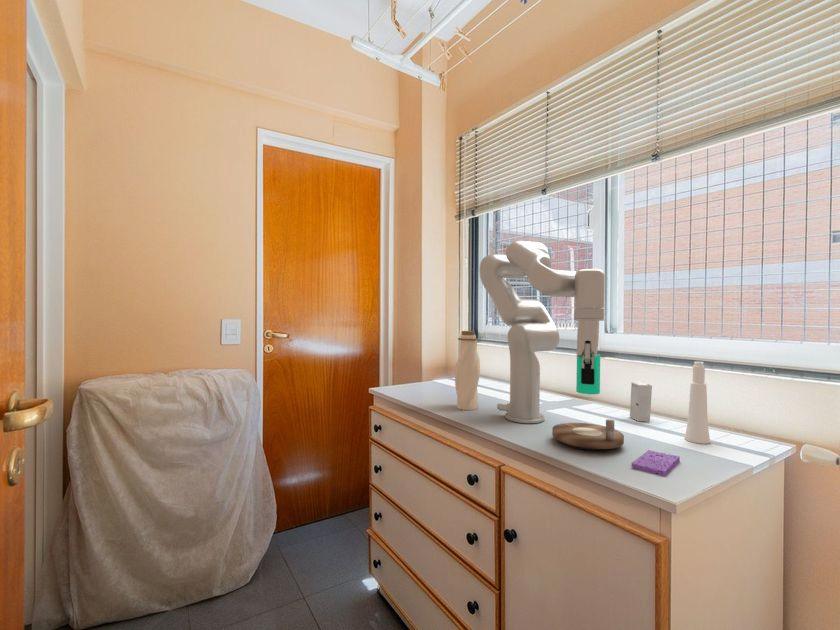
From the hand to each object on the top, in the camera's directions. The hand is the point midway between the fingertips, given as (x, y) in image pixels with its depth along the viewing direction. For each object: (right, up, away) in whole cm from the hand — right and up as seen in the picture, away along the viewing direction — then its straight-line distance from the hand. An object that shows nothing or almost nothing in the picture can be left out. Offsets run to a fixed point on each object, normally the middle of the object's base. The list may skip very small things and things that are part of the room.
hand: (588, 381), depth 114 cm
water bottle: (-28, -16, +40) cm, 52 cm away
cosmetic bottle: (+32, -17, +4) cm, 36 cm away
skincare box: (+27, -17, +25) cm, 41 cm away
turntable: (0, -15, 0) cm, 15 cm away
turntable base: (0, -17, 0) cm, 17 cm away
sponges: (+10, -18, -15) cm, 25 cm away
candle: (0, -3, 0) cm, 3 cm away
